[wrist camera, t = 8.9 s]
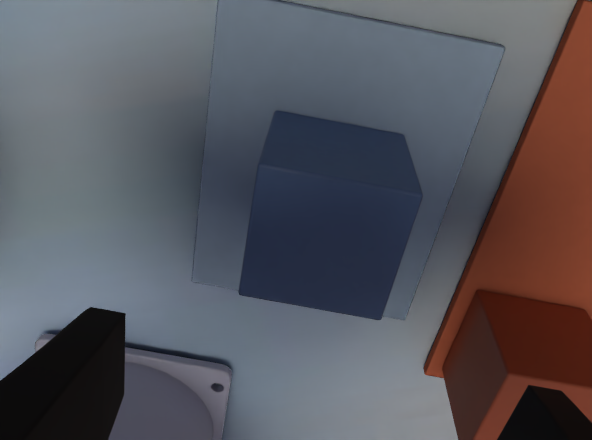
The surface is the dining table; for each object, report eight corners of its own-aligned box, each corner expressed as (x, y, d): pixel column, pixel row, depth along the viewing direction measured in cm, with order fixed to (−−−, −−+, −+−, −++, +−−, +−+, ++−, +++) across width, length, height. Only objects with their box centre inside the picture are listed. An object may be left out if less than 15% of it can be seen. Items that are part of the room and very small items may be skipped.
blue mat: (404, 313, 20) (405, 321, 19) (193, 275, 19) (191, 282, 19) (502, 44, 15) (506, 47, 14) (221, -12, 14) (218, -10, 14)
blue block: (372, 243, 18) (381, 321, 14) (256, 221, 18) (237, 296, 14) (405, 134, 16) (424, 194, 12) (274, 108, 16) (257, 162, 12)
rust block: (540, 386, 21) (581, 480, 17) (440, 368, 20) (462, 460, 17) (585, 308, 19) (643, 398, 15) (476, 288, 18) (508, 374, 15)
